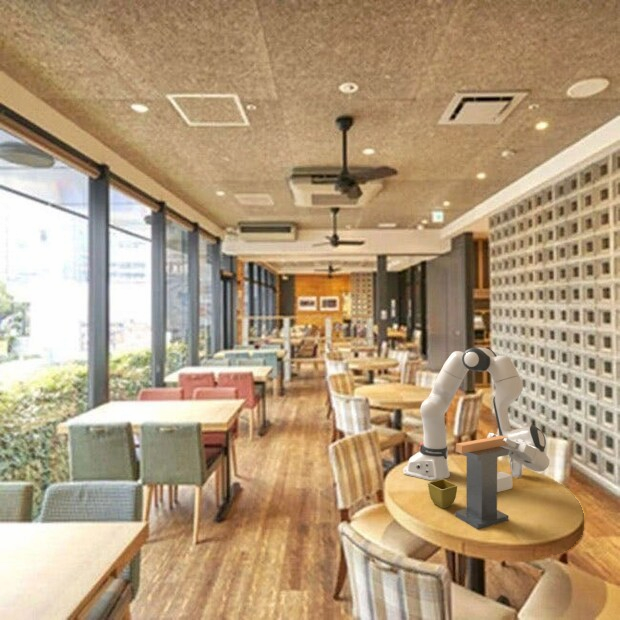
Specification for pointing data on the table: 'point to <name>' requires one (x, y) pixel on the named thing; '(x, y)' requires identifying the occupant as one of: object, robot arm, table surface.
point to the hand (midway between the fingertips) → (498, 437)
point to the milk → (503, 481)
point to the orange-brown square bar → (480, 444)
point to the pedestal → (482, 488)
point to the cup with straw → (515, 467)
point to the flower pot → (442, 492)
